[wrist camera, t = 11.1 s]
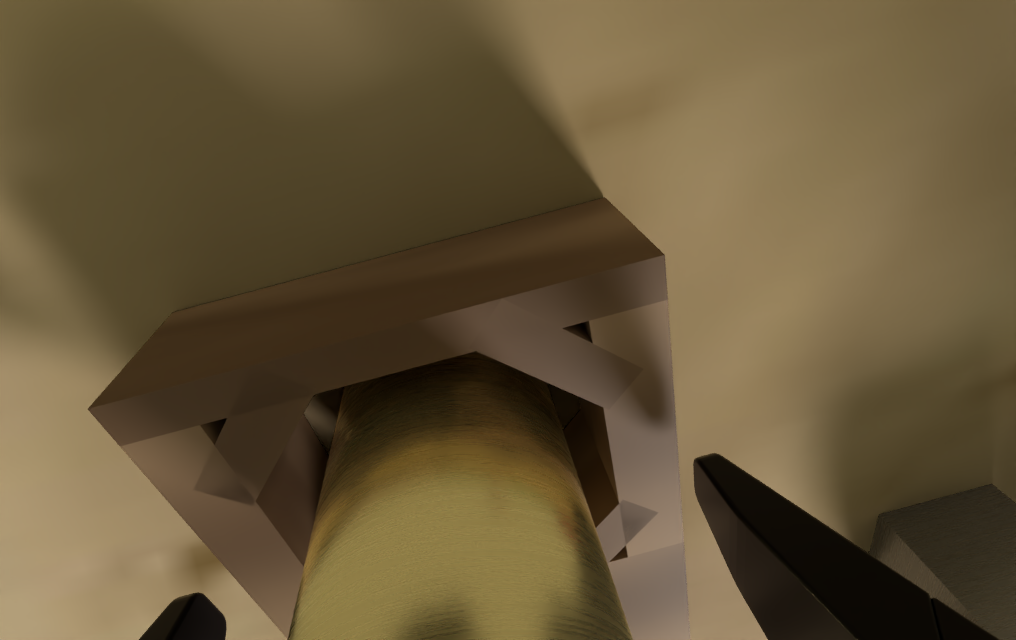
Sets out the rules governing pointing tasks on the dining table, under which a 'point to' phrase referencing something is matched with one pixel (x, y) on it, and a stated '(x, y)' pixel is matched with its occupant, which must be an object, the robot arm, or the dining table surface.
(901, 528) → the square bit
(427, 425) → the round bit
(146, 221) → the dining table surface
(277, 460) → the bore block
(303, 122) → the dining table surface
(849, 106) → the dining table surface
